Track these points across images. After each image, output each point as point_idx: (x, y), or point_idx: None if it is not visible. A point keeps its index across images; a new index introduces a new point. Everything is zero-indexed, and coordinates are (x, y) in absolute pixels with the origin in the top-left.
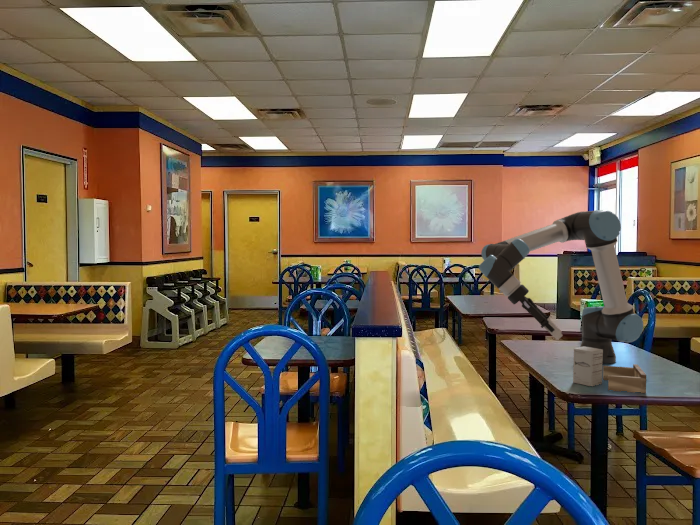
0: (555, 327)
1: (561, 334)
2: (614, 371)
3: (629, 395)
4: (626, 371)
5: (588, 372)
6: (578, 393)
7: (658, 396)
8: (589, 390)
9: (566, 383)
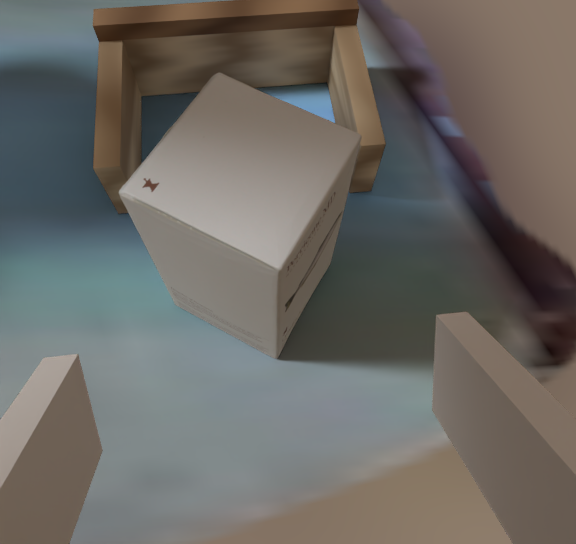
0: (42, 455)
1: (478, 328)
2: (127, 133)
3: (415, 119)
4: (127, 82)
5: (331, 242)
6: (511, 319)
7: (372, 34)
8: (413, 270)
9: (305, 396)
